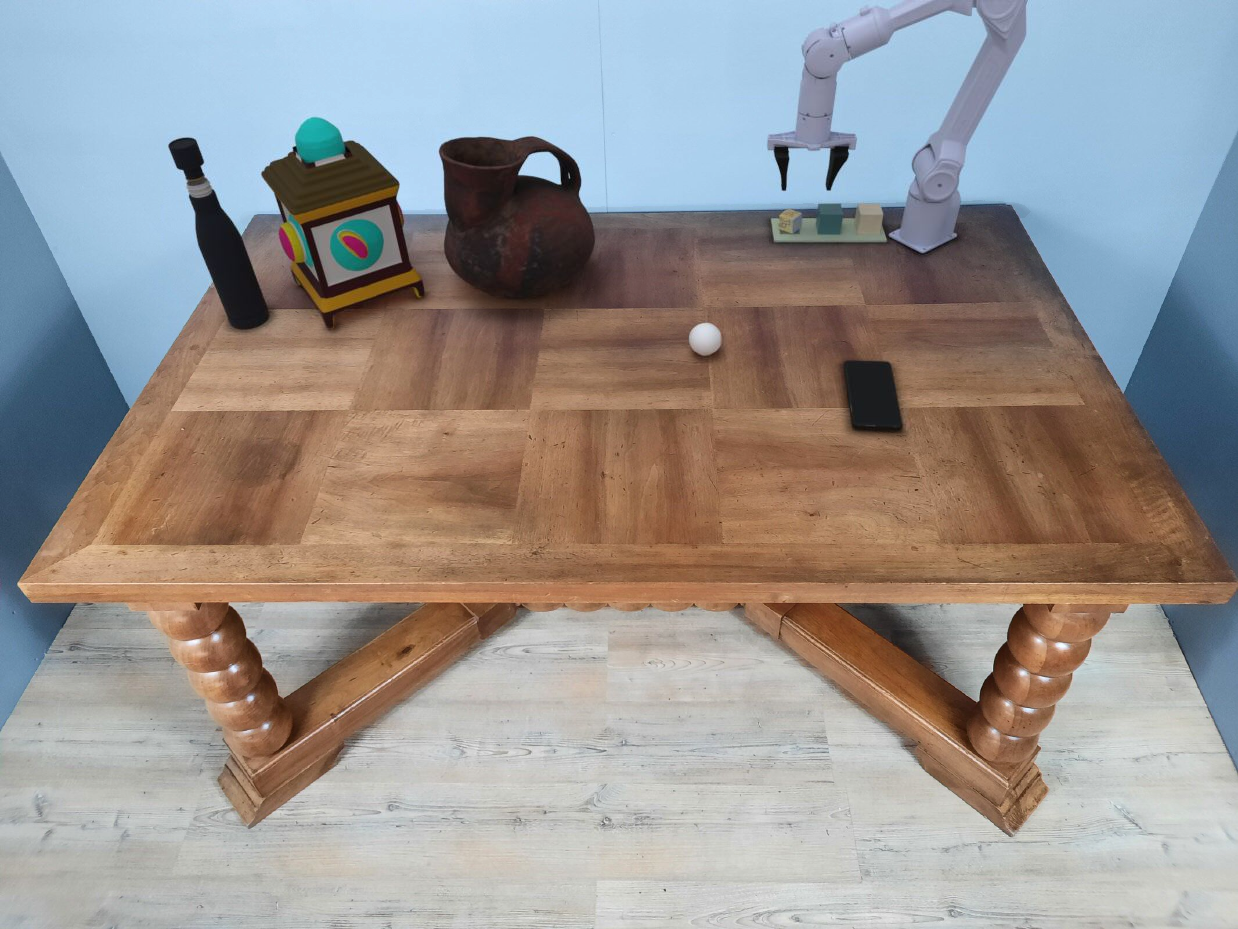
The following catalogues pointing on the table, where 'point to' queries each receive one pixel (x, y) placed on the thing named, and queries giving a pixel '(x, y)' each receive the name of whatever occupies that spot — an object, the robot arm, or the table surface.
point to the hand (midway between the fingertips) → (805, 188)
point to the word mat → (811, 235)
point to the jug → (512, 217)
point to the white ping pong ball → (705, 339)
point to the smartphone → (872, 396)
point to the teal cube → (829, 219)
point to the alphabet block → (790, 221)
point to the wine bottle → (220, 243)
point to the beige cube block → (868, 218)
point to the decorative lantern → (340, 221)
